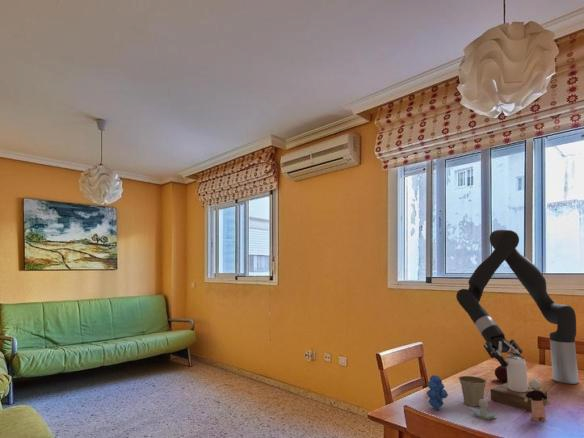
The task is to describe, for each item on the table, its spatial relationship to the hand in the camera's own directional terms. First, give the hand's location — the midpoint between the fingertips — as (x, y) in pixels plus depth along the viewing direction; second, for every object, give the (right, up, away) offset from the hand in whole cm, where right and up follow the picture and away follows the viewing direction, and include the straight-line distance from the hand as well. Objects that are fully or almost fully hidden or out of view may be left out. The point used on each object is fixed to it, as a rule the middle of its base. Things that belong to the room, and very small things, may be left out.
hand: (514, 365), depth 146 cm
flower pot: (-18, -12, -5) cm, 22 cm away
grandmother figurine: (-4, -11, -19) cm, 22 cm away
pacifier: (-20, -11, -17) cm, 29 cm away
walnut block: (0, -13, -2) cm, 13 cm away
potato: (+9, -16, +23) cm, 29 cm away
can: (0, -9, -2) cm, 9 cm away
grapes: (-33, -12, -11) cm, 37 cm away
